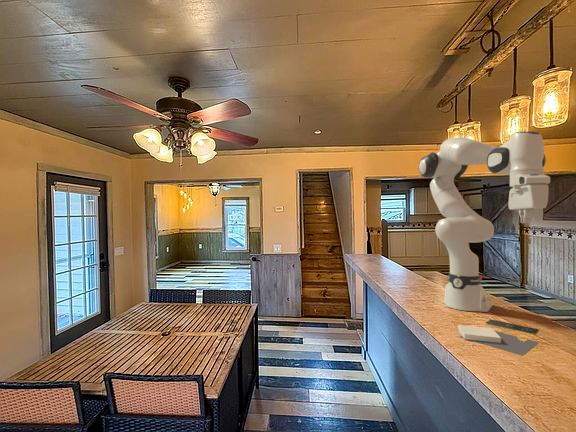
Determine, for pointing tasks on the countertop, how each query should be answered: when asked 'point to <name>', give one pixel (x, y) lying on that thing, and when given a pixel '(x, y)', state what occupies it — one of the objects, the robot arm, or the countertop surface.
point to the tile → (479, 334)
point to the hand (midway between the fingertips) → (525, 223)
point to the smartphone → (512, 326)
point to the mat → (511, 344)
